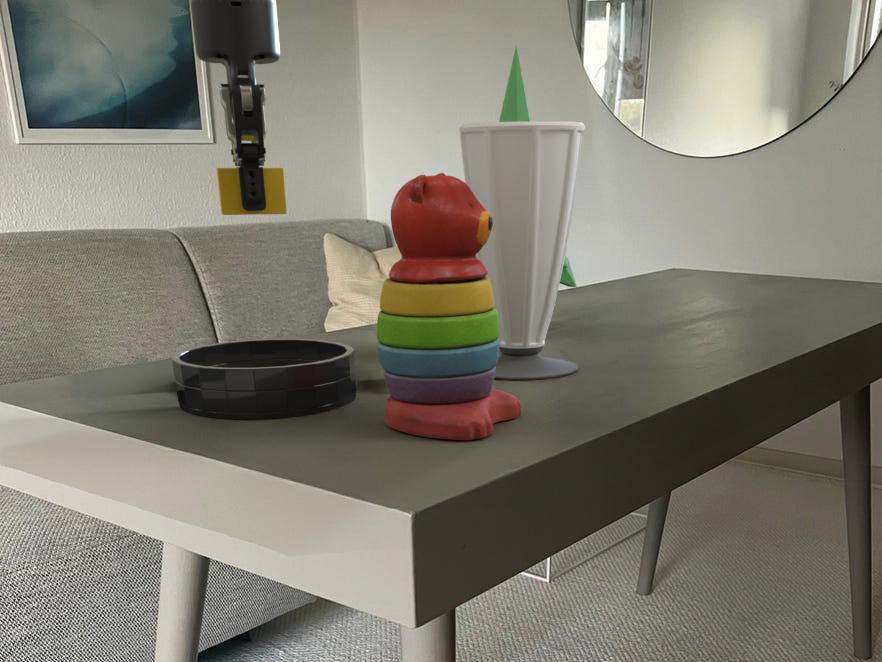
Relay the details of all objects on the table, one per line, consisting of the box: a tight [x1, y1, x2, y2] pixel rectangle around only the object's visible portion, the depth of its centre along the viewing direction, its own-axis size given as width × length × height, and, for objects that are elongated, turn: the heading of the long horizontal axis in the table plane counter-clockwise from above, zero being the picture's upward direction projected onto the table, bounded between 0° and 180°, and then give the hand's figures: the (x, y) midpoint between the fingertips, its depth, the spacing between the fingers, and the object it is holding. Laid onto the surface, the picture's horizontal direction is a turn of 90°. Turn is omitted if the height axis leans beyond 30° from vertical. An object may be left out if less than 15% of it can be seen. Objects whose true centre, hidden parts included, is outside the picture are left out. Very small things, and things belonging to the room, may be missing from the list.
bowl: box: [171, 338, 357, 420], centre depth 86 cm, size 15×15×4 cm
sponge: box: [216, 167, 288, 216], centre depth 95 cm, size 6×4×4 cm, turn 105°
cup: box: [459, 120, 586, 381], centre depth 93 cm, size 12×12×22 cm
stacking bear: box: [376, 172, 522, 441], centre depth 74 cm, size 11×10×18 cm
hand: (253, 208), depth 95 cm, fingers closed on sponge, 4 cm apart
